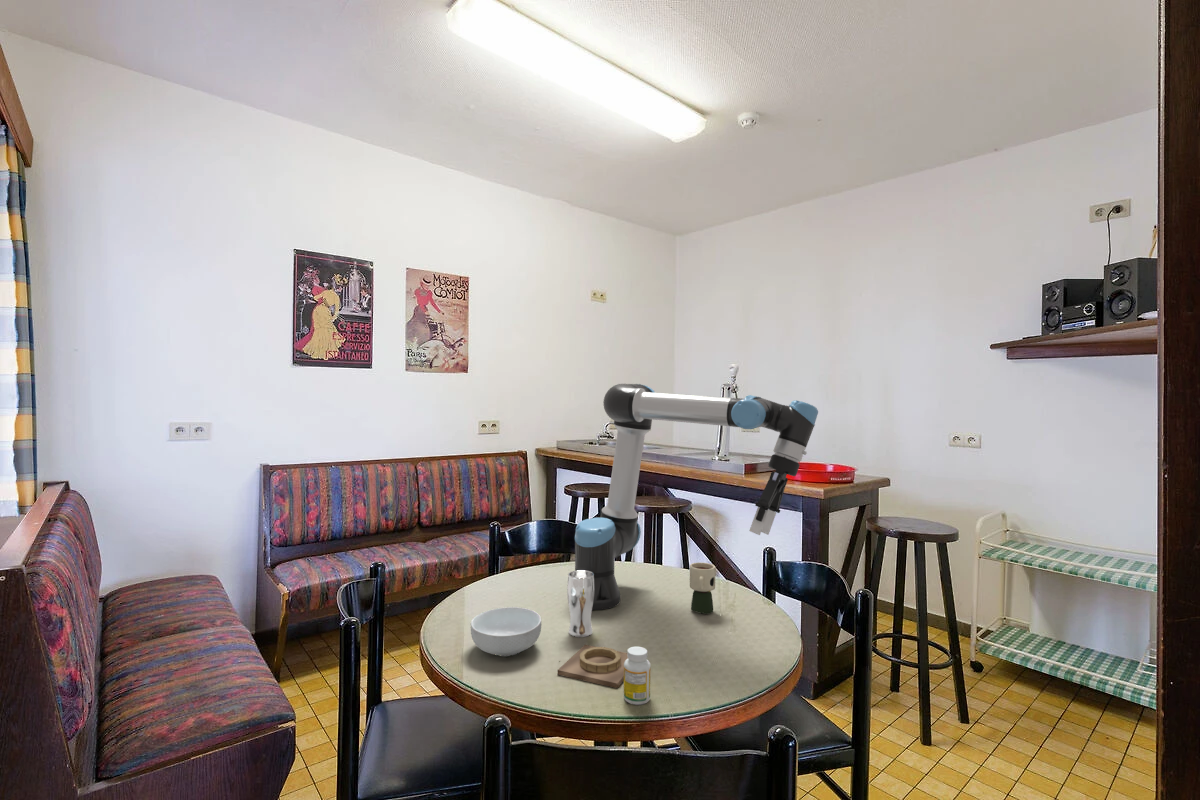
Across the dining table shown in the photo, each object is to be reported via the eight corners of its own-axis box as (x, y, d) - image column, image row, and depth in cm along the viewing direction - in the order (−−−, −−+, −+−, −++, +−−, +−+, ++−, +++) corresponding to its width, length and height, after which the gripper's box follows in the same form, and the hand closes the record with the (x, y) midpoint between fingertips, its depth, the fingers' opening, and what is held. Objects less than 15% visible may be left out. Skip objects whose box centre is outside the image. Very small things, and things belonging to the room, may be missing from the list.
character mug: (714, 620, 154) (714, 572, 154) (687, 617, 156) (688, 570, 156) (715, 606, 165) (716, 561, 165) (691, 603, 167) (691, 559, 167)
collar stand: (557, 674, 124) (557, 663, 124) (584, 648, 137) (585, 638, 137) (617, 688, 118) (617, 676, 118) (640, 659, 131) (640, 649, 131)
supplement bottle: (639, 708, 110) (640, 659, 110) (617, 699, 114) (618, 651, 114) (655, 697, 115) (656, 650, 115) (634, 688, 118) (634, 642, 118)
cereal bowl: (464, 640, 141) (464, 612, 140) (529, 630, 147) (530, 602, 147) (478, 671, 125) (478, 639, 125) (550, 658, 132) (550, 627, 131)
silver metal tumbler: (573, 640, 141) (574, 579, 141) (562, 629, 147) (563, 572, 147) (598, 635, 144) (599, 575, 144) (586, 625, 151) (587, 568, 150)
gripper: (794, 457, 140) (765, 539, 139) (805, 467, 162) (779, 538, 161) (765, 447, 143) (735, 527, 142) (779, 458, 165) (754, 527, 164)
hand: (759, 533), depth 152 cm, fingers open, 13 cm apart
